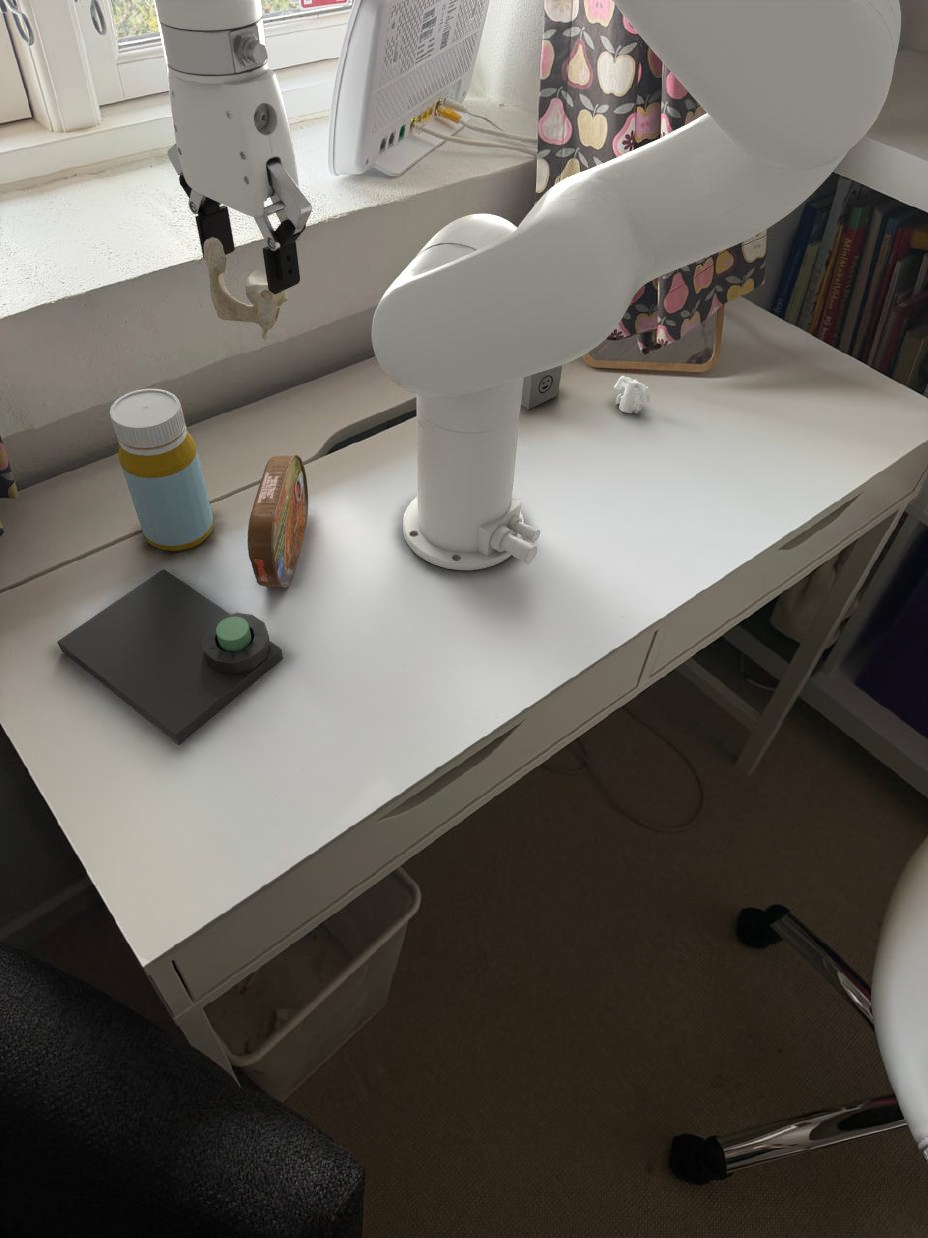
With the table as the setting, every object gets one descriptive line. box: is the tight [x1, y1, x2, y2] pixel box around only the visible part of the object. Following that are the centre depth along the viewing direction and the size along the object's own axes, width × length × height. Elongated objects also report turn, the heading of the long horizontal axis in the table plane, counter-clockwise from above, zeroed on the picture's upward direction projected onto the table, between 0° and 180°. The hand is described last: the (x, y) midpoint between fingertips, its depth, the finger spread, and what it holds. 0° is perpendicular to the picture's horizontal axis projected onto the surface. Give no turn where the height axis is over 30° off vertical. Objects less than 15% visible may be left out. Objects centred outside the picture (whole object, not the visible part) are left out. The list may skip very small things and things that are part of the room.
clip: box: [613, 375, 651, 414], centre depth 106 cm, size 5×2×4 cm, turn 50°
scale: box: [56, 568, 284, 745], centre depth 78 cm, size 16×12×3 cm
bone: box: [203, 237, 289, 341], centre depth 79 cm, size 9×6×10 cm
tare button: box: [216, 617, 251, 652], centre depth 77 cm, size 3×3×2 cm
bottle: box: [109, 388, 215, 552], centre depth 85 cm, size 7×7×15 cm
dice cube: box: [521, 365, 563, 410], centre depth 107 cm, size 5×5×5 cm
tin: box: [247, 454, 309, 589], centre depth 86 cm, size 15×3×8 cm, turn 177°
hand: (251, 270), depth 79 cm, fingers closed on bone, 8 cm apart
